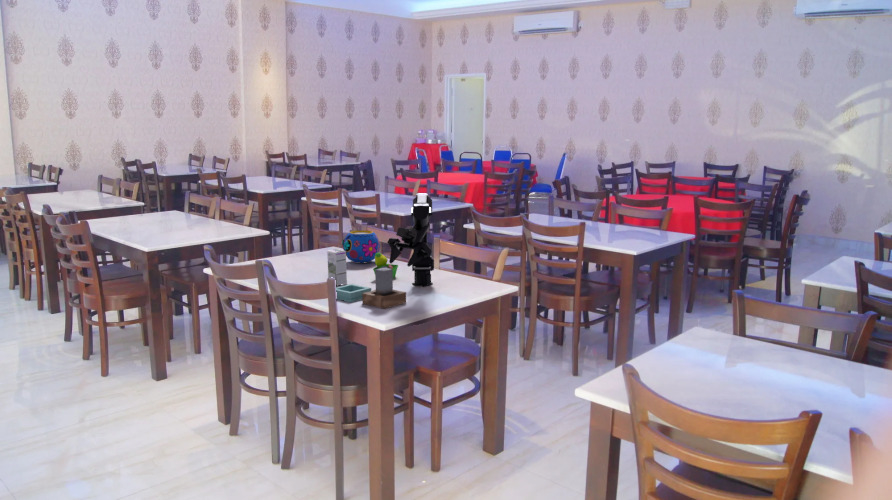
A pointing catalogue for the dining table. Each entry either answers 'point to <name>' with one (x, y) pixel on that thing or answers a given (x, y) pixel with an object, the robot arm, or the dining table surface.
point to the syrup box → (337, 266)
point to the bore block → (384, 299)
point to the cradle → (351, 292)
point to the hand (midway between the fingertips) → (398, 264)
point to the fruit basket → (384, 263)
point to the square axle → (384, 281)
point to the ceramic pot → (361, 246)
